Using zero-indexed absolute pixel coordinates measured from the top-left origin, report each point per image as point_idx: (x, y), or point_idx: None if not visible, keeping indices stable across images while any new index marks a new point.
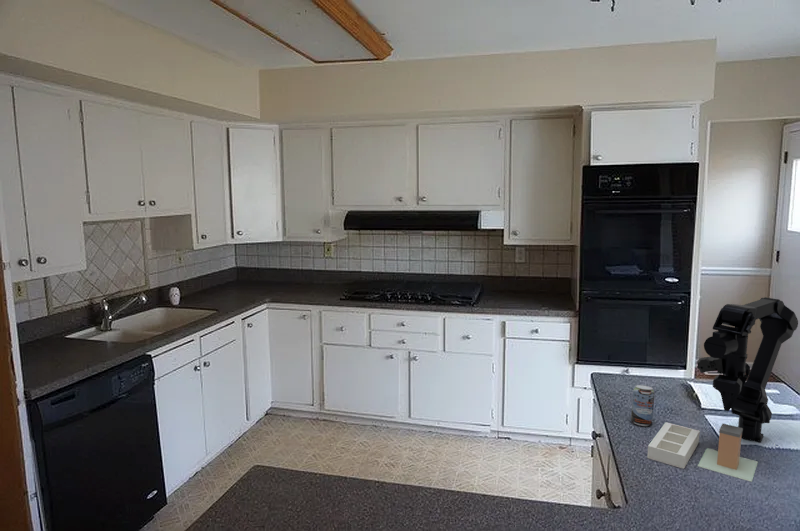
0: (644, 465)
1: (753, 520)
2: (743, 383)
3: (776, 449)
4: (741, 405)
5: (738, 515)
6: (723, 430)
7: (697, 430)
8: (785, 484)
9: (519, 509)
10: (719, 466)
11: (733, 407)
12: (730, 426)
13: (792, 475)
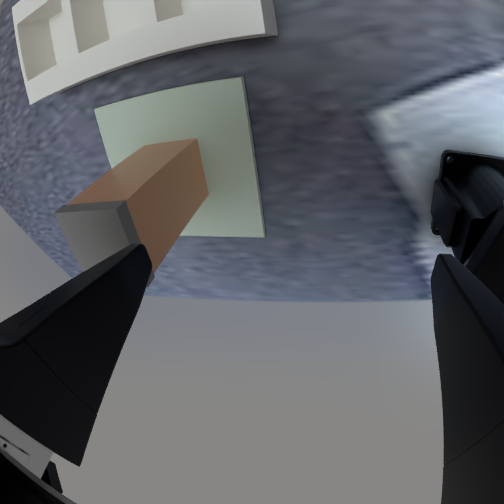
0: None
1: (46, 247)
2: (446, 472)
3: (413, 268)
4: (481, 269)
5: (37, 228)
6: (62, 227)
7: (261, 23)
8: (201, 287)
9: None
10: None
11: (501, 206)
12: (117, 244)
13: (261, 299)
